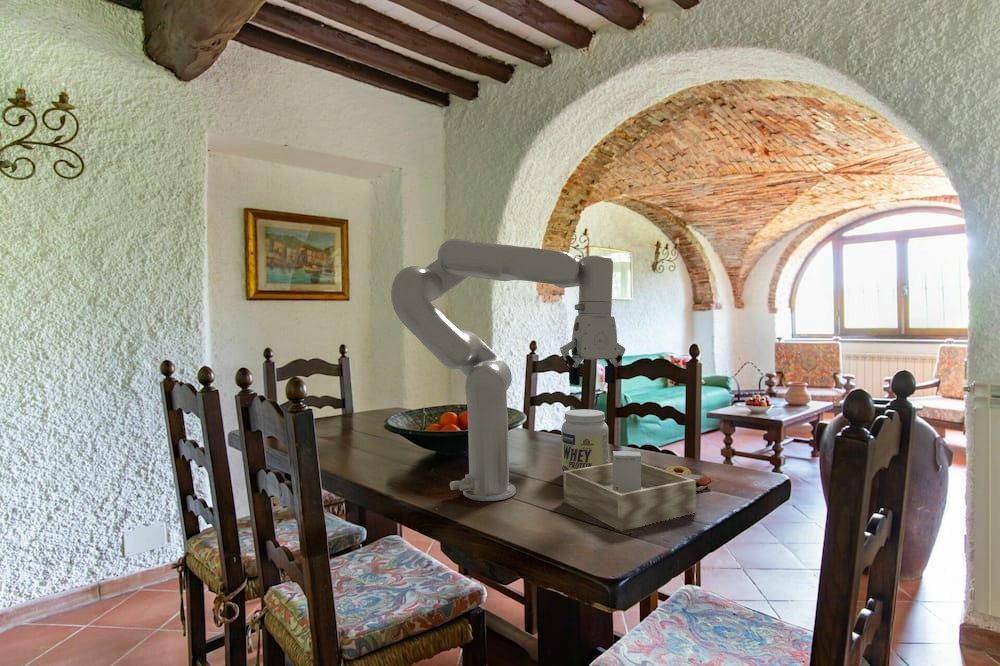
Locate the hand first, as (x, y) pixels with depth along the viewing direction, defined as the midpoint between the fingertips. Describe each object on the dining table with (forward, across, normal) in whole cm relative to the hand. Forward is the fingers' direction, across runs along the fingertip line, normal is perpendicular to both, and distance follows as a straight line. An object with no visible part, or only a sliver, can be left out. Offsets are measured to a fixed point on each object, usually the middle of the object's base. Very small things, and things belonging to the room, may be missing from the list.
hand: (592, 383), depth 128 cm
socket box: (+26, +3, -10) cm, 28 cm away
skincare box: (+26, +3, -10) cm, 28 cm away
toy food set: (+26, +25, -3) cm, 36 cm away
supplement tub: (+27, +8, +14) cm, 31 cm away
